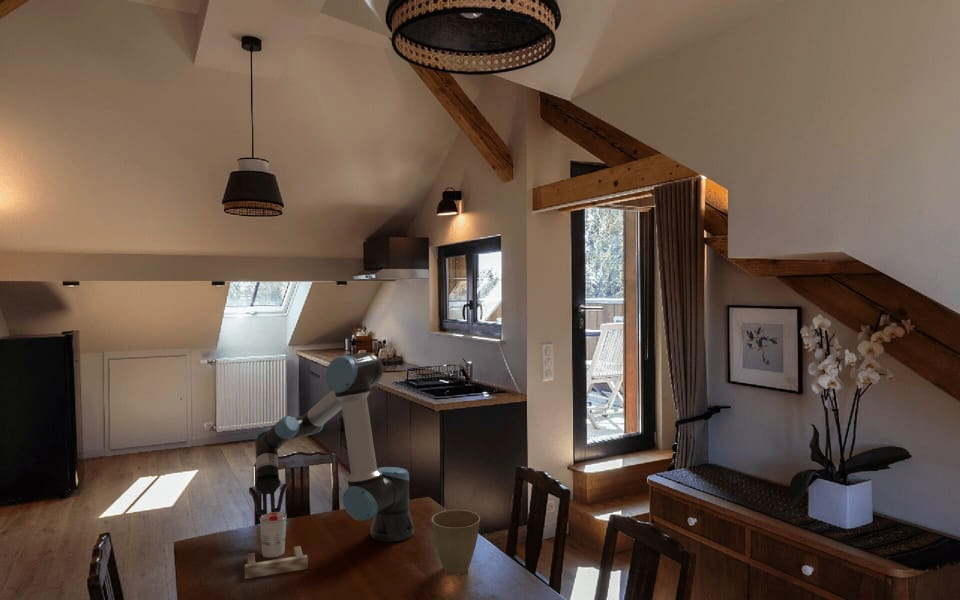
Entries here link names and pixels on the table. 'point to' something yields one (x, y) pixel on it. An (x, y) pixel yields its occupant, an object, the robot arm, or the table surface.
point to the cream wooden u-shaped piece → (276, 564)
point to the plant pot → (455, 538)
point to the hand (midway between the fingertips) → (269, 532)
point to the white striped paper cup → (273, 534)
